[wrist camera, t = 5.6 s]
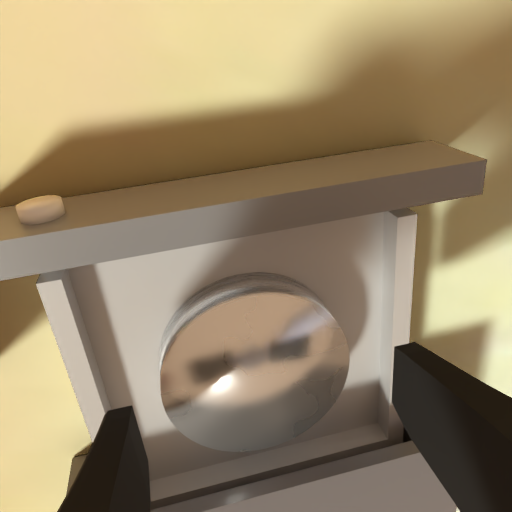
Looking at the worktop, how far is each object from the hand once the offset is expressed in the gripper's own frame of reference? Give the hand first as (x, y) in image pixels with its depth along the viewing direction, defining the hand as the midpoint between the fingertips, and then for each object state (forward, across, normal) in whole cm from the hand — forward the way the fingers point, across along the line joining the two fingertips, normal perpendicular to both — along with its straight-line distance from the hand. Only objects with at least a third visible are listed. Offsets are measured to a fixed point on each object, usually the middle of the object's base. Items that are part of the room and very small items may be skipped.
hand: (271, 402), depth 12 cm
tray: (+3, 0, 0) cm, 3 cm away
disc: (+2, 0, 0) cm, 3 cm away
